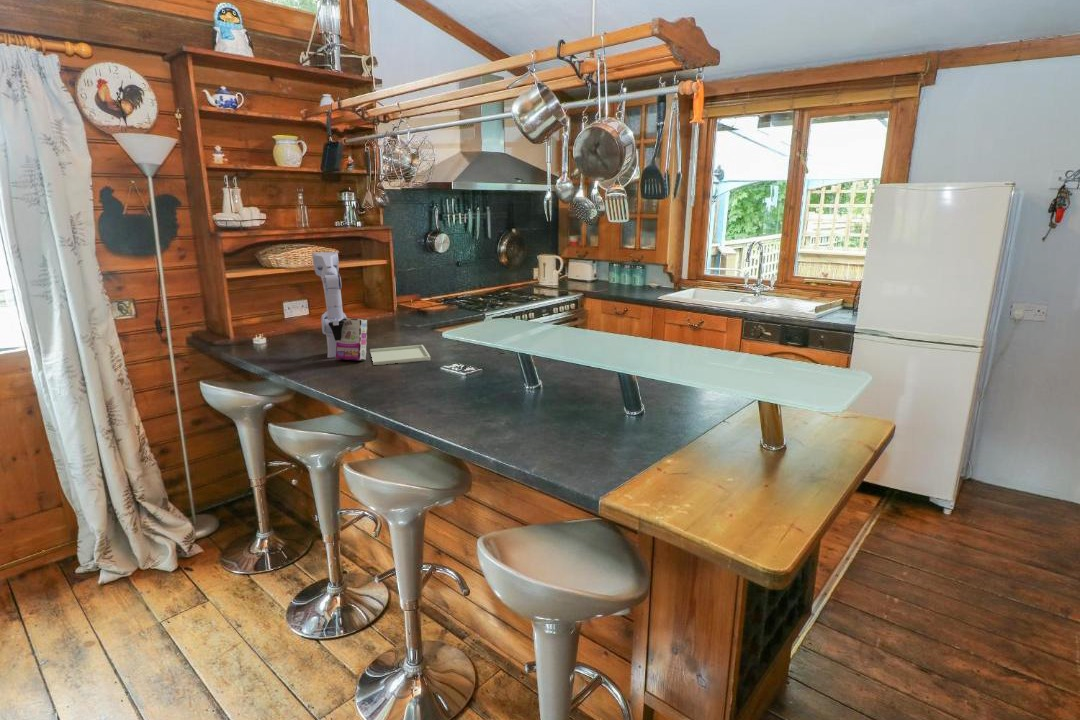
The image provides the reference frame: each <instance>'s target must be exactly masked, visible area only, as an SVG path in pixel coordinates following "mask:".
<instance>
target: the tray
mask: <svg viewBox="0 0 1080 720" xmlns="http://www.w3.org/2000/svg"><path fill="white" fill-rule="evenodd" d="M369 352H370V358H371V357H372V358H371V360H372V361H373V362H372V365H377V366H385V365H386V364H388V365H396V364H395V363H398V364H406V363H417V362H418V363H419V362H425V361H426V362H428V361H431V360H432V359H431V355H430V353H429V352H428V351H427V349H426V347H425V346H424V344H416V345H407V346H406V345H404V346H403V345H402V346H393V347H392V346H391V347H383V348H370V349H369ZM386 366H387V365H386Z"/></svg>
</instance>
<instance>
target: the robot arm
mask: <svg viewBox="0 0 1080 720" xmlns="http://www.w3.org/2000/svg"><path fill="white" fill-rule="evenodd" d="M312 261H313V262H312V263H313V267H314V268H313V269H314V273H315V275H316V276H318V277H320V278H321V279H320V280H321V282H322V288H323V292H324V300H325V305H326V307H325V308H326V311H325V312H324V313H323V314H321V317H320V319H321V321H320V322H321V323H320V324H321V330H322V334H323V335H326V344H327V357H326V358H327V359H328V358H329V359H331V358H336V342H337V341H338V340H341V333H342V327H343V325H344V321H341V320H342V319H348V318H347V315H346V313H345V312H344V311H343V309H344V308H343V301H342V300H343V299H342V292H341V290H342V278H341V274H340V273H339V271H340V270H339V269H340V268H339V267H340V265H339V264H340V261H339V255H338V252H337V251H332V252H331V251H329V252H313V253H312Z"/></svg>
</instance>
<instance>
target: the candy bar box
mask: <svg viewBox="0 0 1080 720" xmlns="http://www.w3.org/2000/svg"><path fill="white" fill-rule="evenodd" d="M341 321H344V325H343V327H342V333H341V340H338V341H337V342H336V357H335V359H336V360H346V361H347V360H348V361H366V360H367V346H368V345H367V344H368V343H367V342H368V319H365V318H346V319H342V320H341Z"/></svg>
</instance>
